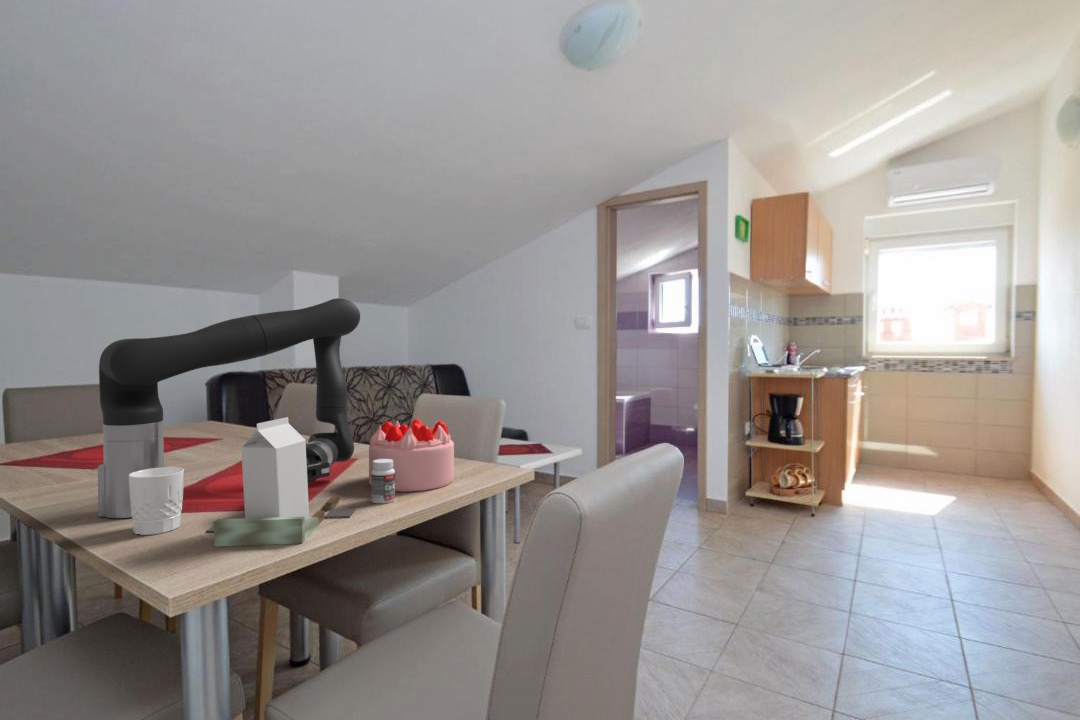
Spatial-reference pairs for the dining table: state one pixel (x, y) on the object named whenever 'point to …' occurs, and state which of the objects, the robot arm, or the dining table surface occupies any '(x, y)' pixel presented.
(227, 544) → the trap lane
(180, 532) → the dining table surface
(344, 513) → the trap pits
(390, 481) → the pill bottle
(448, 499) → the dining table surface
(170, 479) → the white cup
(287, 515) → the milk carton
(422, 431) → the cake
